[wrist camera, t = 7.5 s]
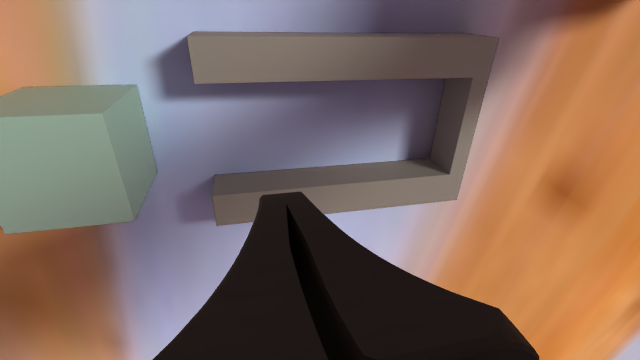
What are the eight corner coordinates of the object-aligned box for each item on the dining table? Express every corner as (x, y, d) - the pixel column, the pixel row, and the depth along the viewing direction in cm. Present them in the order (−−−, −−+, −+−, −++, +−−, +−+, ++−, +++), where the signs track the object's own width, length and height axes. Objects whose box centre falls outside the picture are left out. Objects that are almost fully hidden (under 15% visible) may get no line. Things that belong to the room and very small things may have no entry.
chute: (470, 33, 19) (499, 37, 17) (437, 182, 24) (456, 199, 22) (193, 31, 16) (186, 36, 14) (218, 202, 21) (216, 225, 19)
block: (136, 84, 17) (102, 113, 12) (157, 171, 19) (134, 221, 15) (23, 87, 16) (-58, 119, 11) (60, 179, 18) (5, 234, 14)
